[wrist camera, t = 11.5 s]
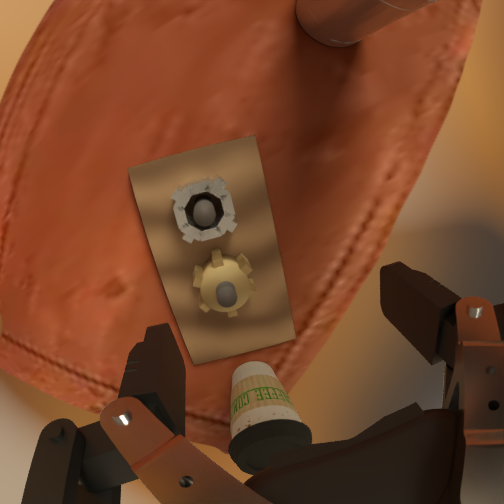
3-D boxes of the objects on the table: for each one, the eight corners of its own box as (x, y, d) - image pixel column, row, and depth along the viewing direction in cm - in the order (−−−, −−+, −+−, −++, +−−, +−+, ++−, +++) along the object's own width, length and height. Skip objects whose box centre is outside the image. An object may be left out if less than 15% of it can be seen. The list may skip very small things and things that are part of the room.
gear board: (130, 167, 33) (112, 172, 25) (252, 135, 34) (266, 132, 27) (194, 358, 41) (194, 395, 34) (293, 332, 42) (309, 365, 35)
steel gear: (171, 186, 33) (168, 191, 29) (223, 172, 33) (225, 175, 29) (185, 235, 34) (184, 246, 31) (235, 222, 35) (239, 231, 31)
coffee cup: (262, 338, 42) (289, 419, 28) (297, 378, 45) (329, 452, 31) (205, 374, 43) (211, 458, 28) (244, 409, 46) (261, 485, 32)
